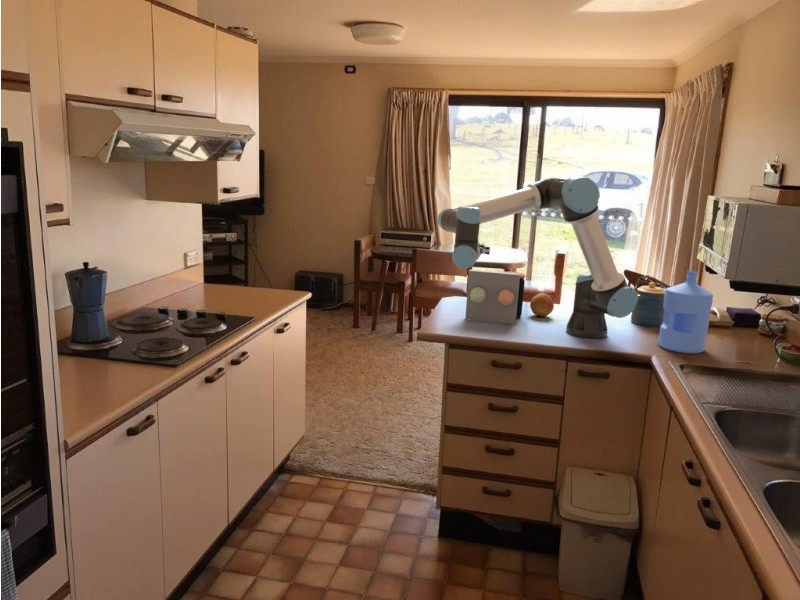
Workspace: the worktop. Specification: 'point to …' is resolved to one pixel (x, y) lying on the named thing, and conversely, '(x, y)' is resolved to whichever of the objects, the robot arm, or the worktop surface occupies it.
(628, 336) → the worktop surface
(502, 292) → the terracotta button
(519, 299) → the coffee jar
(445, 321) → the worktop surface
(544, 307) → the onion
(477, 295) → the sage button
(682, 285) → the water jug
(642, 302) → the canister
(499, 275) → the panel
